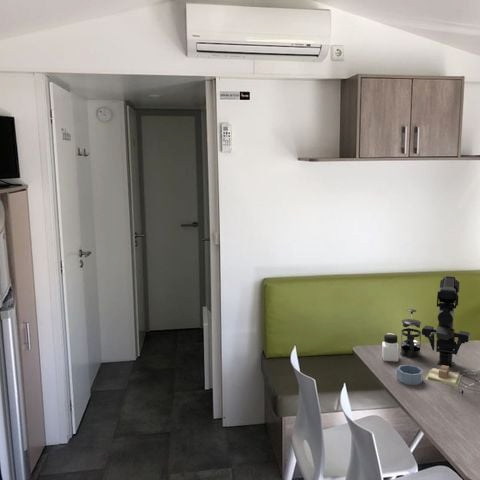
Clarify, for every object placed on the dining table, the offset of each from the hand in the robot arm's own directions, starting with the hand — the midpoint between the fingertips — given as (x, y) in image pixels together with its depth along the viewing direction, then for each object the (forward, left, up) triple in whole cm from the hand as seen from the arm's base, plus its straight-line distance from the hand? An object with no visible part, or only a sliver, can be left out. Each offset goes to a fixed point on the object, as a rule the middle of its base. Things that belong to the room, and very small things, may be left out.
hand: (444, 352), depth 206 cm
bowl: (+10, -12, -12) cm, 20 cm away
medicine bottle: (-10, -26, -12) cm, 30 cm away
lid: (0, 0, -11) cm, 11 cm away
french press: (-20, -19, -12) cm, 30 cm away
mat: (0, 0, -12) cm, 12 cm away
